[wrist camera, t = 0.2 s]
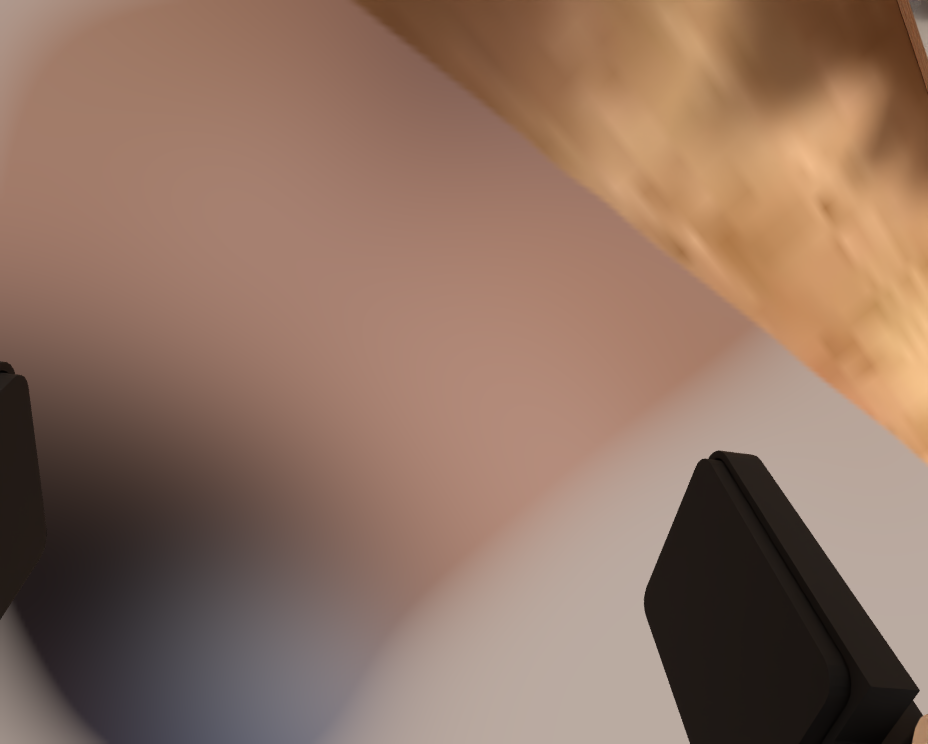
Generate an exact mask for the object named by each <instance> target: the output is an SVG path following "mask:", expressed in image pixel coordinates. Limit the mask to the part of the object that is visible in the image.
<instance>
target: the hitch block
mask: <svg viewBox="0 0 928 744" xmlns="http://www.w3.org/2000/svg"><path fill="white" fill-rule="evenodd" d="M897 2H898V5H899V8H900V10H901V13H902V16H903V19H904V22H905V25H906V28H907V31H908V34H909V37H910V40H911V43H912V46H913V49H914V52H915V55H916V58H917V61H918V64H919V67H920V70H921V73H922V76H923V79H924V82H925V85H926V87H927V90H928V0H897Z"/></svg>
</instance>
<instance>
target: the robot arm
mask: <svg viewBox="0 0 928 744" xmlns="http://www.w3.org/2000/svg"><path fill="white" fill-rule="evenodd" d="M46 537H47V528H46V521H45V513H44V505H43V498H42V490H41V482H40V475H39V466H38V458H37V450H36V443H35V435H34V427H33V419H32V412H31V404H30V396H29V389H28V384H27V380H26V379H25V377H24V376H22V375H16V374H15V372H14V369H13V368H12V366H11V365H10V364H8V363H7V362H1V361H0V619H1V618H2V616H3V615H4V613H5V612H6V610H7V608H8V607H9V605H10V604H11V602H12V601H13V599H14V598H15V596H16V595H17V593H18V592H19V590H20V589H21V587H22V585H23V584H24V582H25V581H26V579H27V578H28V576H29V575H30V573H31V572H32V570H33V568H34V567H35V566H36V564H37V562H38V561H39V559H40V557H41V556H42V553H43V551H44V548H45V544H46ZM644 608H645V614H646V617H647V620H648V623H649V626H650V629H651V632H652V634H653V638H654V640H655V643H656V646H657V649H658V652H659V655H660V658H661V661H662V664H663V666H664V669H665V672H666V675H667V678H668V681H669V684H670V687H671V690H672V692H673V695H674V698H675V701H676V704H677V707H678V710H679V713H680V716H681V719H682V721H683V724H684V727H685V730H686V733H687V735H688V738H689V742H690V744H928V714H927V715H925V716H923V715H922V713H921V712H920V710H919V709H918V707H917V706H916V704H915V703H914V701H913V699H914V698H915V696H916V695H917V694H918V692H919V691H920V690H919V689H918V687H917V686H916V684H915V683H914V681H913V680H912V678H911V677H910V675H909V674H908V673H907V671H906V670H905V668H904V667H903V665H902V664H901V663H900V661H899V660H898V658H897V657H896V655H895V654H894V652H893V651H892V649H891V648H890V647H889V645H888V644H887V642H886V641H885V639H884V638H883V636H882V635H881V634H880V632H879V631H878V629H877V628H876V626H875V625H874V623H873V622H872V620H871V619H870V618H869V616H868V615H867V613H866V612H865V610H864V609H863V607H862V606H861V605H860V603H859V602H858V600H857V599H856V597H855V596H854V594H853V593H852V592H851V590H850V589H849V587H848V586H847V585H846V583H845V581H844V580H843V579H842V577H841V576H840V574H839V573H838V571H837V570H836V569H835V567H834V565H833V564H832V563H831V561H830V560H829V558H828V557H827V555H826V554H825V553H824V551H823V550H822V548H821V547H820V545H819V544H818V542H817V541H816V539H815V538H814V537H813V535H812V534H811V532H810V531H809V529H808V528H807V526H806V525H805V524H804V522H803V521H802V519H801V518H800V516H799V515H798V513H797V512H796V511H795V509H794V508H793V506H792V505H791V503H790V502H789V501H788V499H787V497H786V496H785V495H784V493H783V492H782V490H781V489H780V487H779V486H778V484H777V483H776V482H775V480H774V479H773V477H772V476H771V474H770V473H769V472H768V470H767V468H766V467H765V466H764V464H763V463H762V461H761V460H760V459H759V458H758V457H757V456H754V455H750V454H741V453H734V452H726V451H716V452H714V453H712V454H711V455H710V457H709V459H702V460H700V461H699V462H698V464H697V466H696V468H695V470H694V473H693V475H692V477H691V480H690V482H689V485H688V488H687V490H686V492H685V495H684V497H683V499H682V502H681V505H680V507H679V509H678V512H677V514H676V517H675V519H674V522H673V524H672V527H671V529H670V531H669V534H668V536H667V539H666V541H665V544H664V546H663V549H662V551H661V553H660V556H659V558H658V561H657V563H656V566H655V568H654V571H653V573H652V575H651V578H650V580H649V583H648V585H647V588H646V591H645V596H644Z"/></svg>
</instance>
